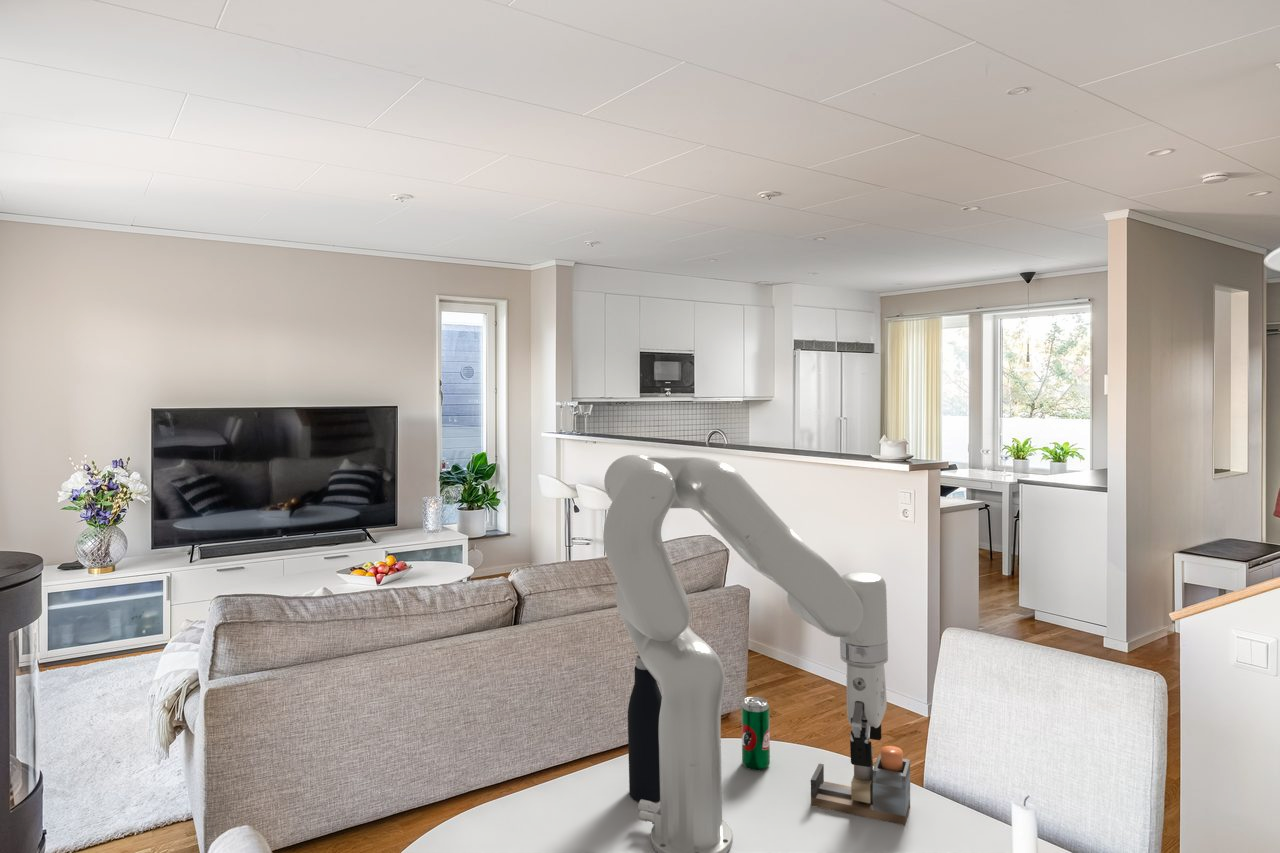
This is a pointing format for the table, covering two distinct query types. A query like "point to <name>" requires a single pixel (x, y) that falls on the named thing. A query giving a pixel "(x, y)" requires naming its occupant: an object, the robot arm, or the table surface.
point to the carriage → (862, 783)
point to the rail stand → (885, 802)
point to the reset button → (891, 758)
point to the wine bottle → (644, 736)
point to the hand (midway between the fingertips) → (866, 751)
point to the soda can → (755, 733)
